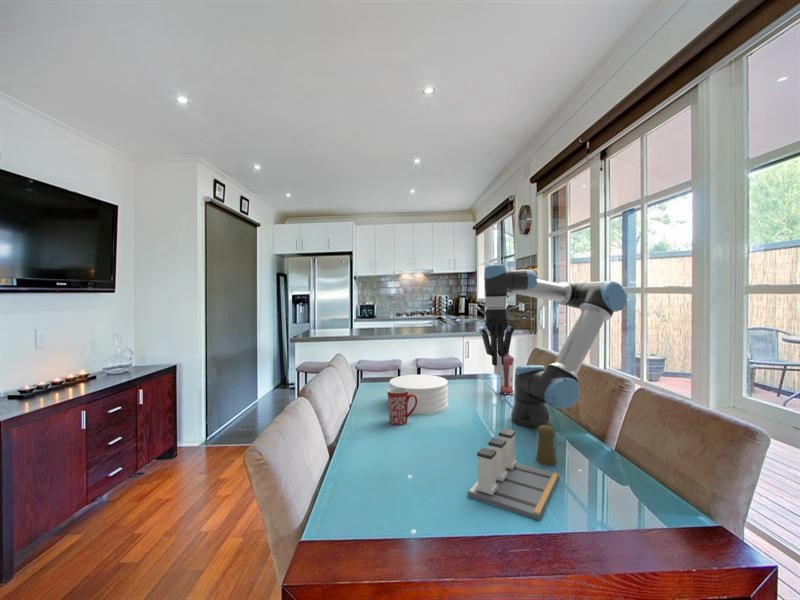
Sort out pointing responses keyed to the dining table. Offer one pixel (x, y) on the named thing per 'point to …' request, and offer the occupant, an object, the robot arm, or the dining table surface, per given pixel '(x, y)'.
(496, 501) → the panel
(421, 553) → the dining table surface
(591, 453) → the dining table surface
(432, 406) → the plate stack
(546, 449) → the cork
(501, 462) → the lever mid
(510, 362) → the liquor
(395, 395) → the mug
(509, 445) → the lever
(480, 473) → the lever far
